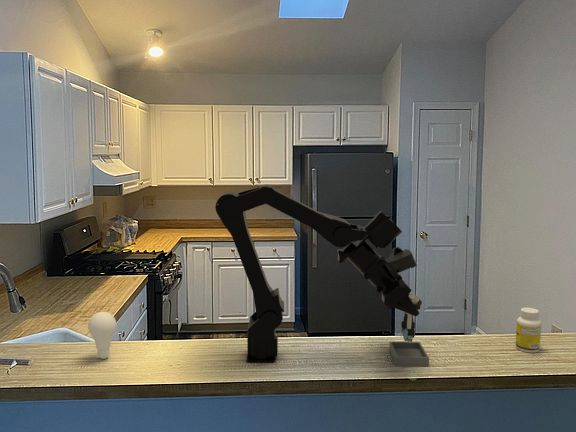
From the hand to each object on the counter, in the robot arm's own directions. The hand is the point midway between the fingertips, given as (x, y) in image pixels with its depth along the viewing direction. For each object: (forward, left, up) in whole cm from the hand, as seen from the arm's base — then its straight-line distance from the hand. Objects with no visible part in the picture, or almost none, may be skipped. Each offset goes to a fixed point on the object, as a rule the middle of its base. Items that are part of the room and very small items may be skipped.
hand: (415, 310), depth 124 cm
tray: (-1, 0, -11) cm, 11 cm away
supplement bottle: (+29, +6, -11) cm, 32 cm away
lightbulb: (-71, -3, -11) cm, 72 cm away
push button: (-2, 0, -7) cm, 7 cm away
